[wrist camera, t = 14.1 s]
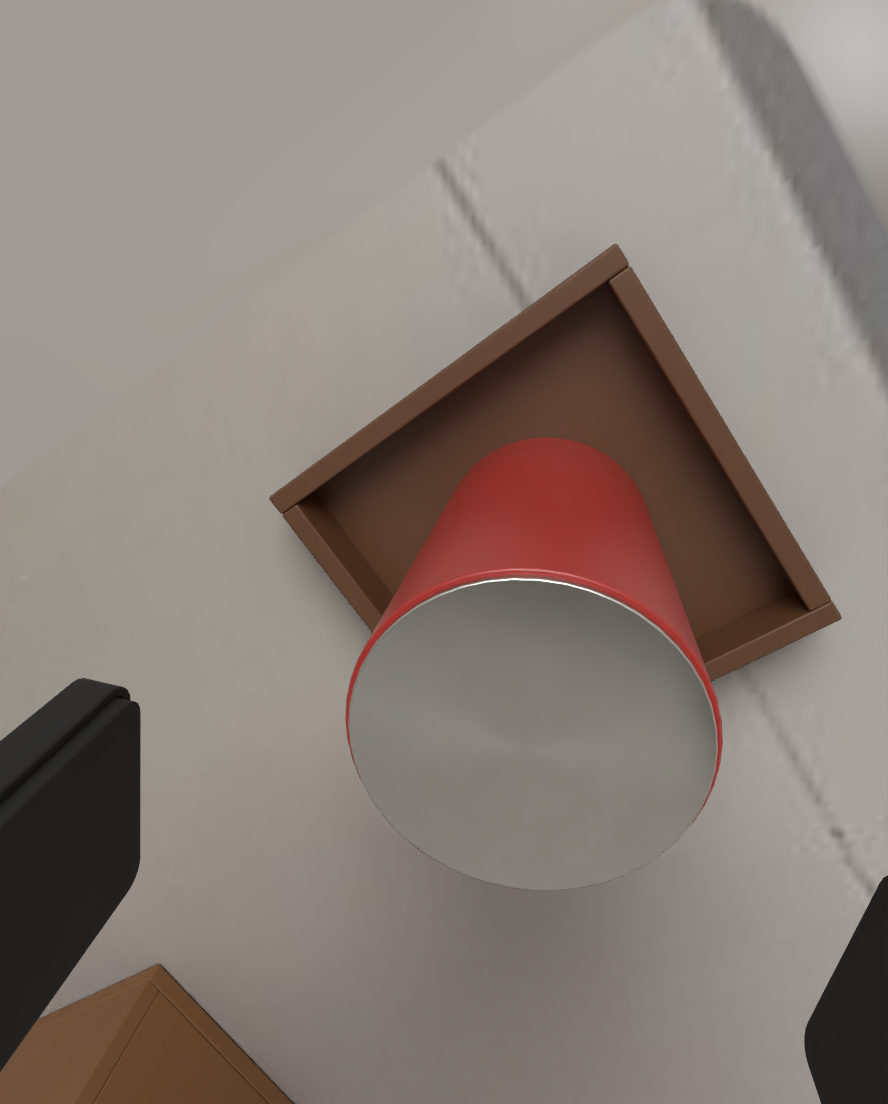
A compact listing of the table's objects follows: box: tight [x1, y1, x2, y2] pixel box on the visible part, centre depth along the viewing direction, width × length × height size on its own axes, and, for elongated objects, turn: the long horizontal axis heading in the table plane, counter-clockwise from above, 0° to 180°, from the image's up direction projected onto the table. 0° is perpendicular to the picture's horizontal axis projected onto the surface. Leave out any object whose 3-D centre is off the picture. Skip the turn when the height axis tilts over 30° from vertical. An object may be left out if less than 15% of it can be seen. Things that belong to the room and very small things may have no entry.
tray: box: [270, 244, 841, 681], centre depth 20 cm, size 11×11×2 cm
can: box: [346, 438, 723, 890], centre depth 16 cm, size 6×6×10 cm
